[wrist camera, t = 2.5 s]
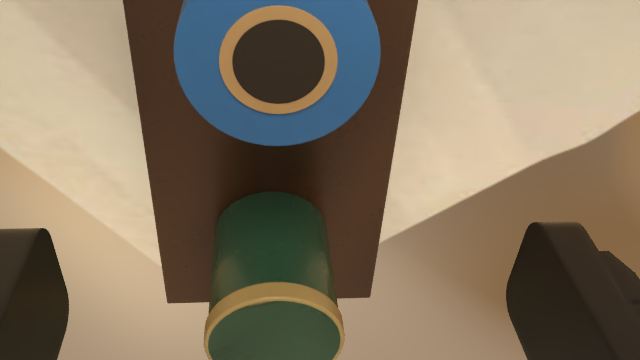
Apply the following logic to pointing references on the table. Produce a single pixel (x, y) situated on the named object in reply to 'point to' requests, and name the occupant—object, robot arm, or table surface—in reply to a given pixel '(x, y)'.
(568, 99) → the table surface
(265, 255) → the tea tin
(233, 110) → the tape roll
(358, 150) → the shelf
